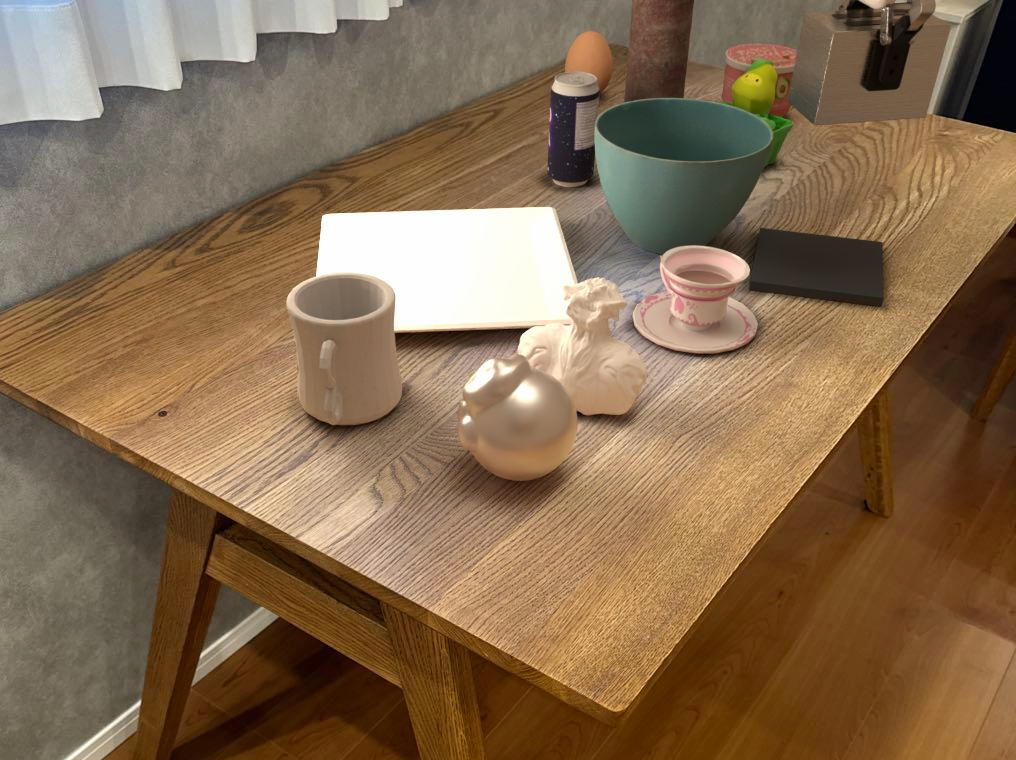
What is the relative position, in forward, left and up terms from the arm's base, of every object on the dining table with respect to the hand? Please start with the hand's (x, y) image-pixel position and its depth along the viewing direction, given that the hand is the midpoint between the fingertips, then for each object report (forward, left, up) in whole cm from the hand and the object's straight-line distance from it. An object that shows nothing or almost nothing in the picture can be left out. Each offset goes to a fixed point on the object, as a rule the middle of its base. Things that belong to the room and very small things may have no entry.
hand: (863, 74), depth 94 cm
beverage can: (+30, -16, -20) cm, 39 cm away
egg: (+34, -46, -20) cm, 61 cm away
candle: (+22, -26, -20) cm, 39 cm away
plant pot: (+16, -3, -20) cm, 26 cm away
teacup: (+11, +15, -20) cm, 27 cm away
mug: (+38, +38, -20) cm, 57 cm away
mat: (0, 0, -20) cm, 20 cm away
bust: (+19, +30, -20) cm, 41 cm away
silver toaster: (0, 0, -3) cm, 3 cm away
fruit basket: (+11, -29, -20) cm, 37 cm away
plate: (+37, +13, -20) cm, 44 cm away
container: (+10, -45, -20) cm, 50 cm away
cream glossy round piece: (+22, +42, -20) cm, 51 cm away
